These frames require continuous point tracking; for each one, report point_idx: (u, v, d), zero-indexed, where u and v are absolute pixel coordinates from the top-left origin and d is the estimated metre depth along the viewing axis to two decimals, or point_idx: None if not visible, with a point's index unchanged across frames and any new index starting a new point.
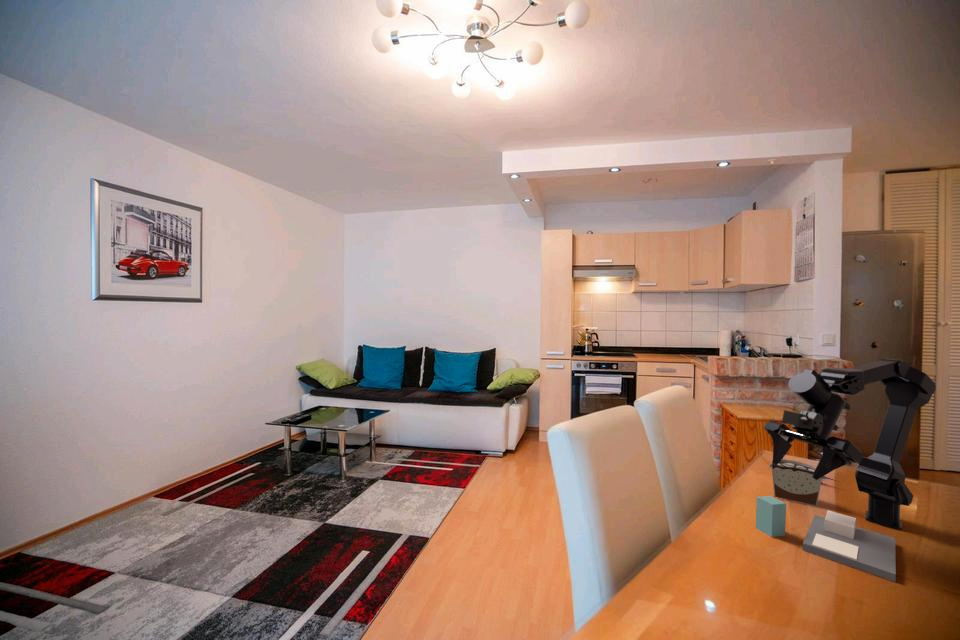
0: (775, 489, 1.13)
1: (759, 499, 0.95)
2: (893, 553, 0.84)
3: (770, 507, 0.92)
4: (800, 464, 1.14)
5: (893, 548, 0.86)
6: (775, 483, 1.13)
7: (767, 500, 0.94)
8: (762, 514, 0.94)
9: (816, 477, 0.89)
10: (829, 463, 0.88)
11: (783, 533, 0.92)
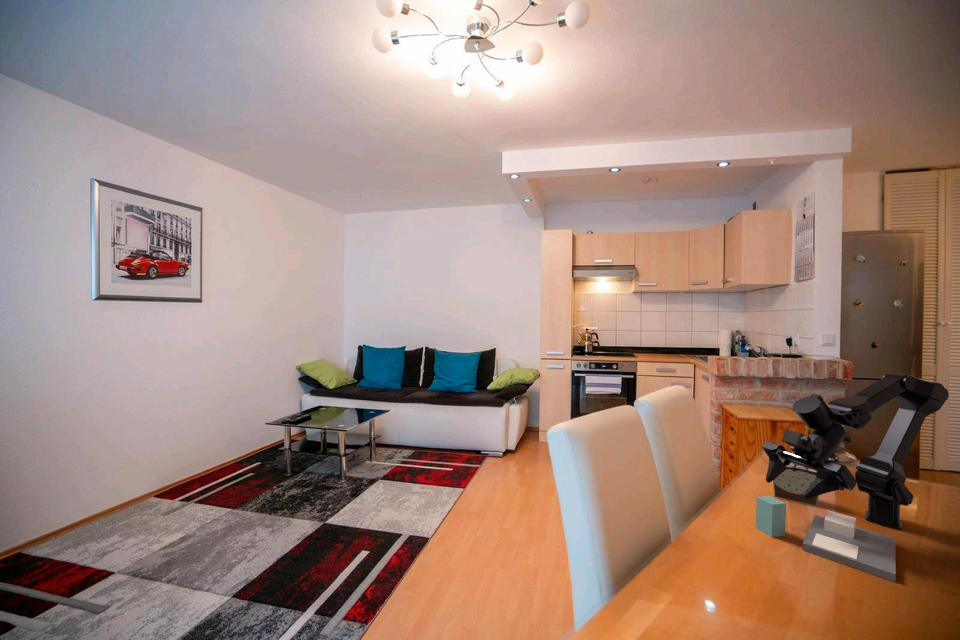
0: (775, 489, 1.13)
1: (759, 499, 0.95)
2: (893, 553, 0.84)
3: (770, 507, 0.92)
4: None
5: (893, 548, 0.86)
6: (775, 483, 1.13)
7: (767, 500, 0.94)
8: (762, 514, 0.94)
9: (807, 496, 0.90)
10: (822, 485, 0.90)
11: (783, 533, 0.92)
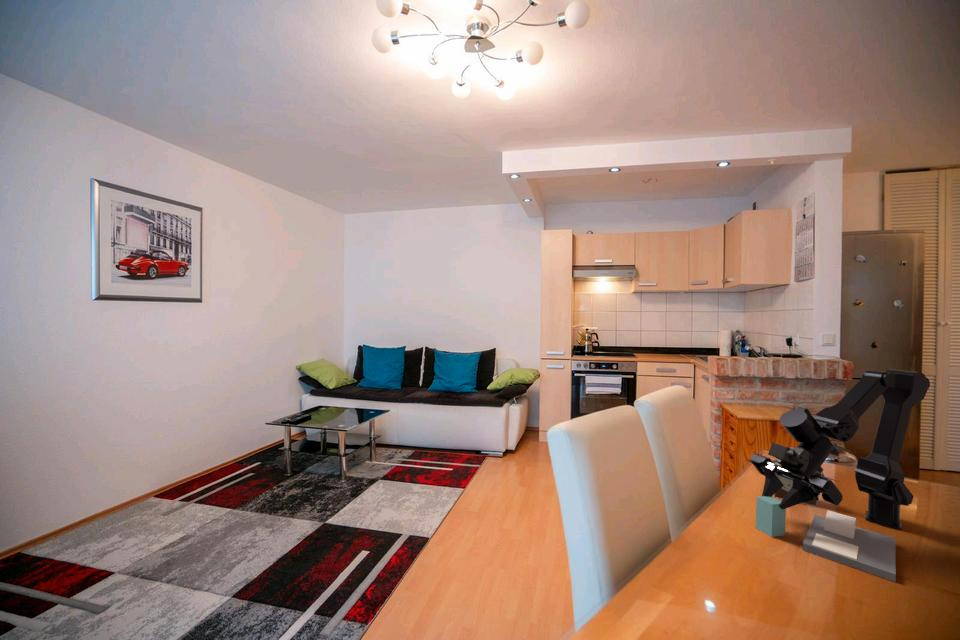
0: None
1: (759, 499, 0.95)
2: (893, 553, 0.84)
3: (770, 507, 0.92)
4: None
5: (893, 548, 0.86)
6: None
7: (767, 500, 0.94)
8: (762, 513, 0.94)
9: (782, 506, 0.92)
10: (797, 495, 0.91)
11: (783, 533, 0.92)
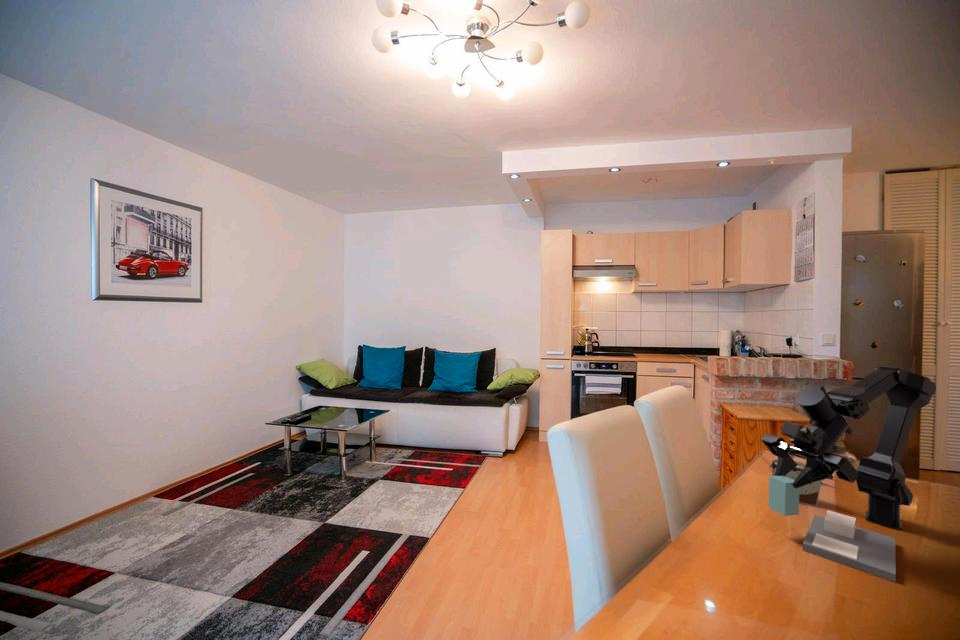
0: None
1: (771, 478, 0.93)
2: (893, 553, 0.84)
3: (783, 486, 0.91)
4: (800, 464, 1.14)
5: (893, 548, 0.86)
6: None
7: (780, 479, 0.92)
8: (775, 493, 0.92)
9: (796, 485, 0.90)
10: (811, 474, 0.90)
11: (797, 512, 0.91)
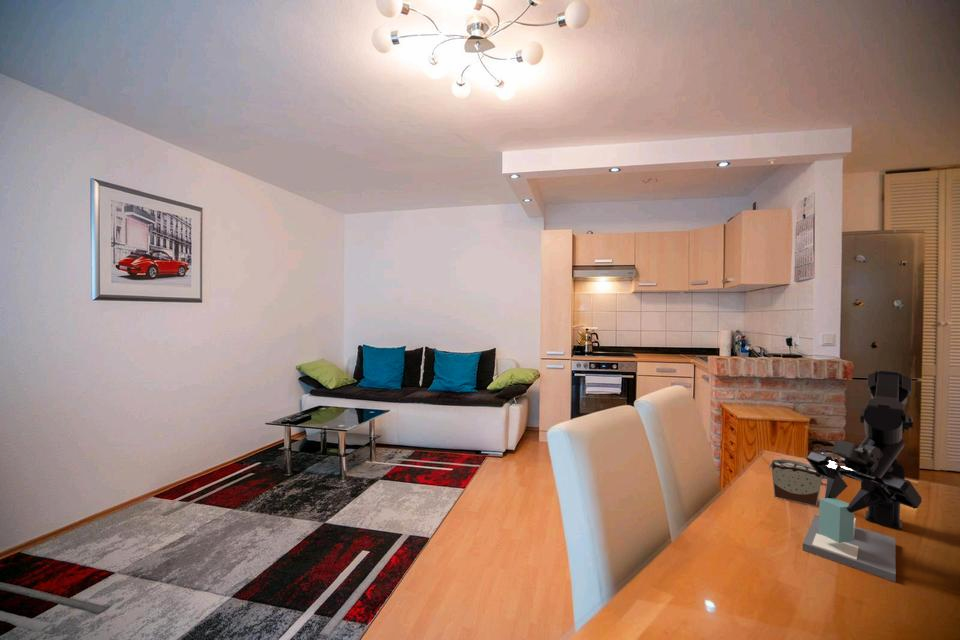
0: (775, 489, 1.13)
1: (823, 501, 0.86)
2: (893, 553, 0.84)
3: (837, 510, 0.84)
4: (800, 464, 1.14)
5: (893, 548, 0.86)
6: (775, 483, 1.13)
7: (832, 502, 0.85)
8: (827, 517, 0.85)
9: (851, 509, 0.83)
10: (867, 497, 0.83)
11: (851, 538, 0.84)
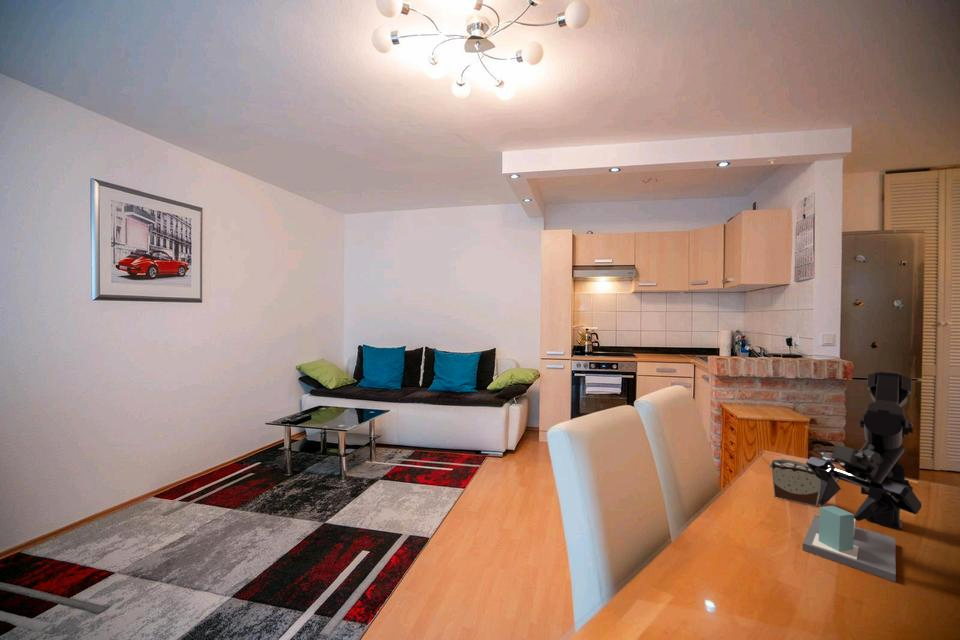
0: (775, 489, 1.13)
1: (823, 509, 0.86)
2: (893, 553, 0.84)
3: (836, 519, 0.84)
4: (800, 464, 1.14)
5: (893, 548, 0.86)
6: (775, 483, 1.13)
7: (832, 511, 0.85)
8: (827, 525, 0.85)
9: (858, 518, 0.82)
10: (874, 505, 0.82)
11: (851, 547, 0.84)
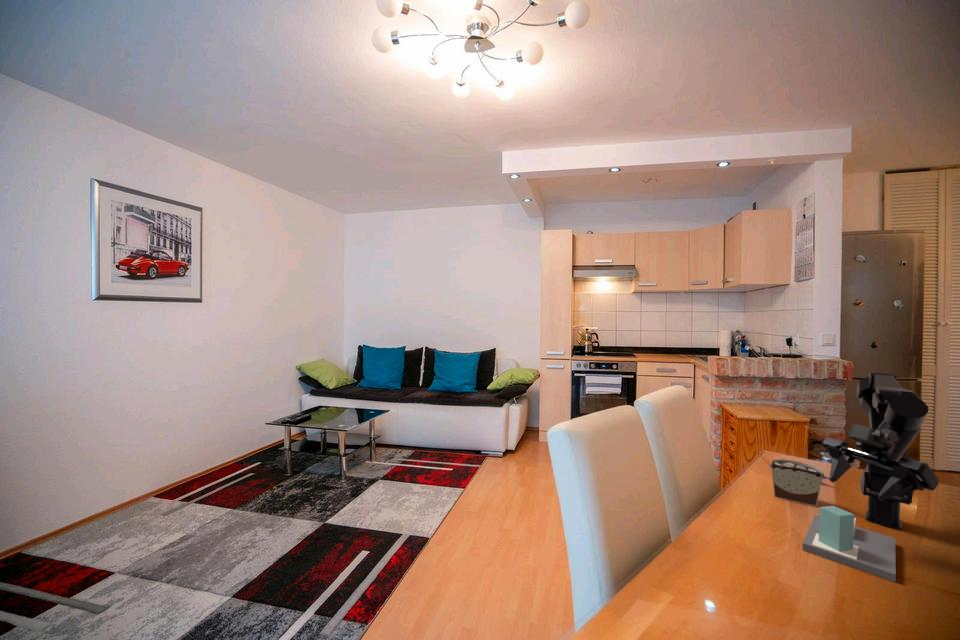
0: (775, 489, 1.13)
1: (823, 509, 0.86)
2: (893, 553, 0.84)
3: (836, 519, 0.84)
4: (800, 464, 1.14)
5: (893, 548, 0.86)
6: (775, 483, 1.13)
7: (832, 511, 0.85)
8: (827, 525, 0.85)
9: (882, 497, 0.82)
10: (898, 485, 0.82)
11: (851, 547, 0.84)
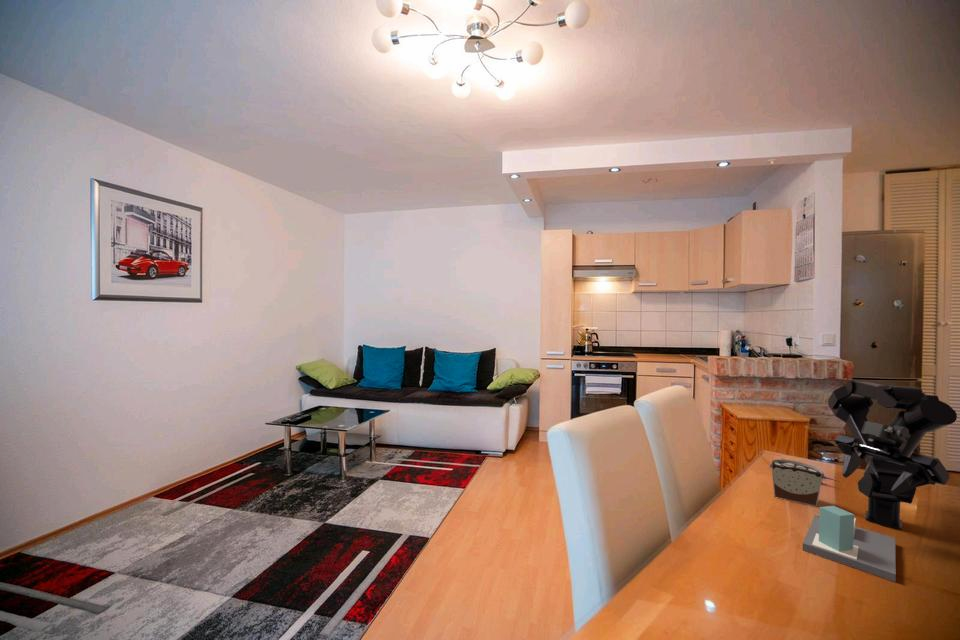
0: (775, 489, 1.13)
1: (823, 509, 0.86)
2: (893, 553, 0.84)
3: (836, 519, 0.84)
4: (800, 464, 1.14)
5: (893, 548, 0.86)
6: (775, 483, 1.13)
7: (832, 511, 0.85)
8: (827, 525, 0.85)
9: (894, 491, 0.85)
10: (910, 479, 0.85)
11: (851, 547, 0.84)
